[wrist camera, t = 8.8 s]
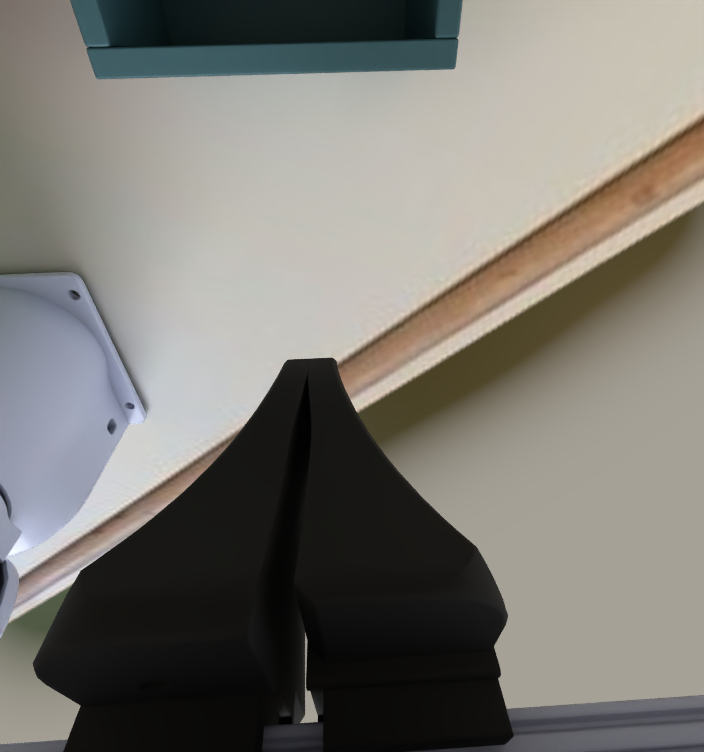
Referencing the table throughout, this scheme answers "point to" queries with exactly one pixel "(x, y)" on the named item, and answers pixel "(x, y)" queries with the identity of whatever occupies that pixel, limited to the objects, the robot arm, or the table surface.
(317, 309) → the table surface
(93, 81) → the table surface
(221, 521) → the robot arm
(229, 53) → the drawer
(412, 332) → the table surface
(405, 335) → the table surface
